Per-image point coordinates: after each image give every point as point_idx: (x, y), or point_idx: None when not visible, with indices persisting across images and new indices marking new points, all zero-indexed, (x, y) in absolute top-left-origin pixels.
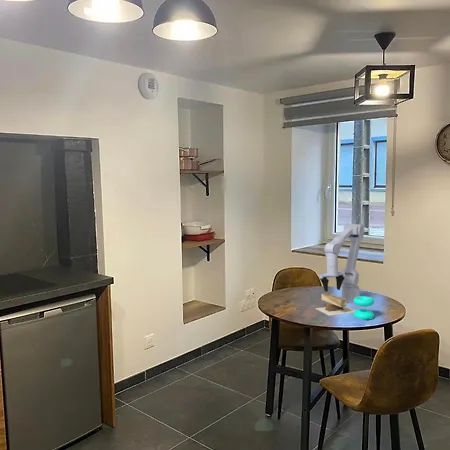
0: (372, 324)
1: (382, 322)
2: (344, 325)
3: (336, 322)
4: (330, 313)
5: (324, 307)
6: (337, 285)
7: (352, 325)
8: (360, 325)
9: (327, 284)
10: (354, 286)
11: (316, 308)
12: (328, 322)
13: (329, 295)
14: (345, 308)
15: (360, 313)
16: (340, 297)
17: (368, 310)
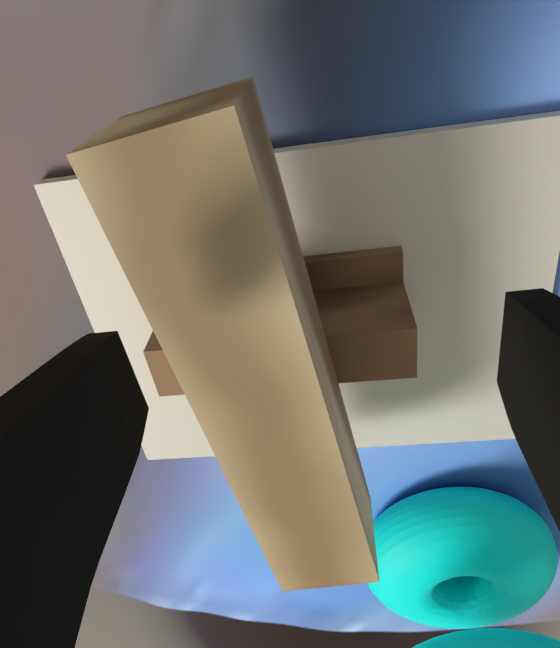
0: (404, 631)
1: (500, 624)
2: (206, 606)
3: (171, 559)
4: (183, 416)
5: None
6: (558, 397)
7: (261, 616)
8: (314, 626)
9: (63, 628)
10: None
11: (52, 193)
12: (109, 547)
13: (212, 357)
14: (455, 302)
15: (396, 612)
16: (351, 502)
17: (513, 603)
